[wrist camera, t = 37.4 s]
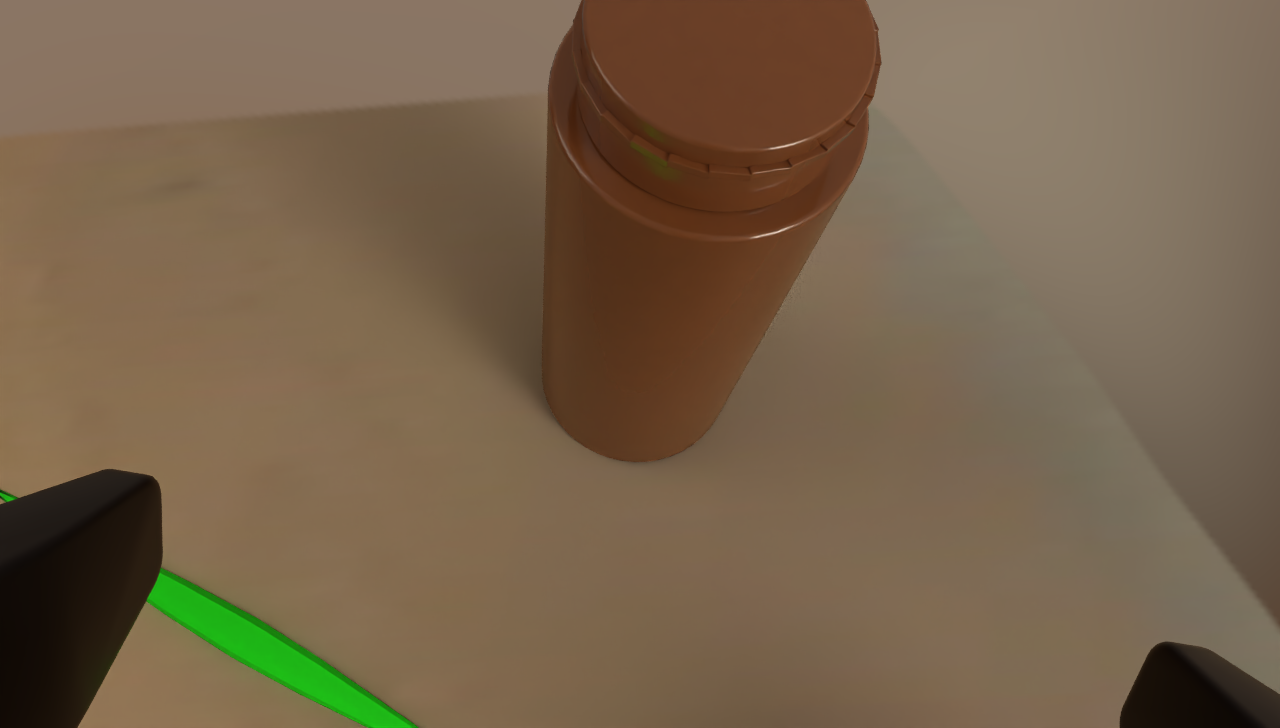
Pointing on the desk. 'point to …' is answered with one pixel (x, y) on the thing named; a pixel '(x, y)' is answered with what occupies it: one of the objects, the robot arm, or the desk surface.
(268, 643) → the leaf
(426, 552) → the desk surface
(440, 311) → the desk surface
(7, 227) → the desk surface
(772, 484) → the desk surface
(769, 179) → the jar
